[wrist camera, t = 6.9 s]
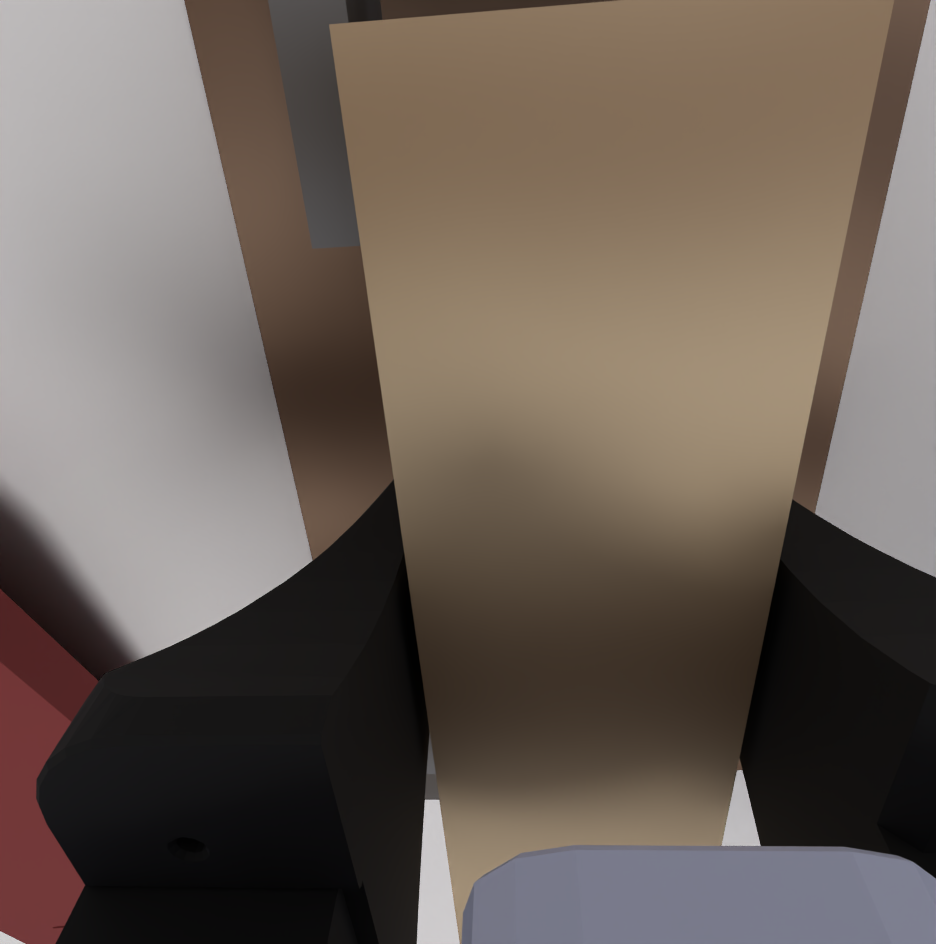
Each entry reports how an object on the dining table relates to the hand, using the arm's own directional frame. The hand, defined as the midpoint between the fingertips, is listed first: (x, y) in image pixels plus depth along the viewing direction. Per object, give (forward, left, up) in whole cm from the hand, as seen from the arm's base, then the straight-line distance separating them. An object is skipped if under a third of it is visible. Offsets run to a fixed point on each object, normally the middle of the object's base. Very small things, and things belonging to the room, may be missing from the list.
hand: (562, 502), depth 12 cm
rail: (0, 0, -2) cm, 2 cm away
